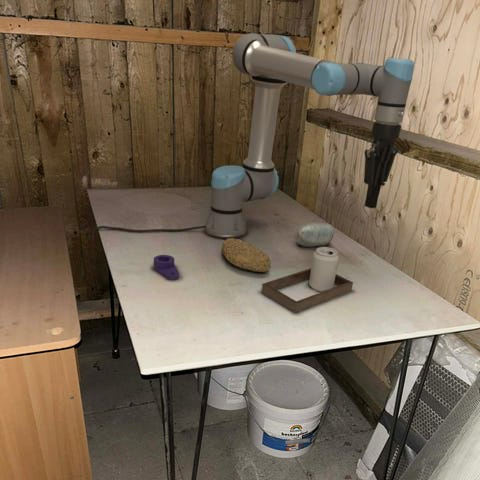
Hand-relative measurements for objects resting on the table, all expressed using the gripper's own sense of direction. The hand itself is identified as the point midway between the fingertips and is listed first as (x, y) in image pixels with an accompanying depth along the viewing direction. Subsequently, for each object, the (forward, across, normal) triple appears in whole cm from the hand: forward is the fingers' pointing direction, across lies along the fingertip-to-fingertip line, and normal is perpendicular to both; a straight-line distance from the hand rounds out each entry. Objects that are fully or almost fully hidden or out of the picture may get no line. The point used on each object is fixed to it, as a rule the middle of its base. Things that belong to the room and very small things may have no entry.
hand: (370, 206), depth 143 cm
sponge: (+23, -26, +25) cm, 43 cm away
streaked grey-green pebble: (+23, +6, +25) cm, 34 cm away
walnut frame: (+22, -23, 0) cm, 32 cm away
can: (+23, -17, 0) cm, 28 cm away
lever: (+23, -50, +33) cm, 65 cm away
